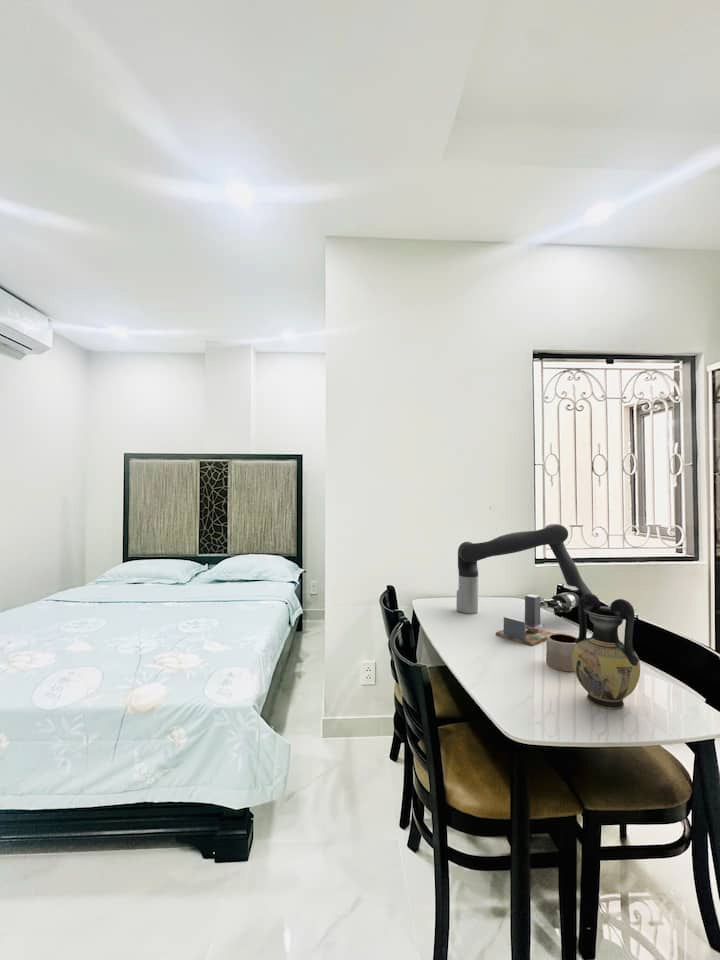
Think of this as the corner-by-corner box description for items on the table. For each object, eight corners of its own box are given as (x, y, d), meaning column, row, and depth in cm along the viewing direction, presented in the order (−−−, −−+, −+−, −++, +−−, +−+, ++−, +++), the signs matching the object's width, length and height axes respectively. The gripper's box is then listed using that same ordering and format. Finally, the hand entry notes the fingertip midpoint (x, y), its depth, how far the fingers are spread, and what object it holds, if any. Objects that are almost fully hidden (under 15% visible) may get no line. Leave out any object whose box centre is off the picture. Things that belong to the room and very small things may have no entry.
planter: (587, 673, 151) (587, 644, 151) (553, 672, 151) (553, 643, 151) (572, 660, 162) (572, 633, 162) (541, 660, 162) (541, 632, 162)
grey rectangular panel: (503, 634, 186) (503, 616, 186) (505, 633, 186) (505, 616, 187) (524, 640, 179) (524, 622, 179) (525, 639, 180) (525, 621, 180)
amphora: (561, 700, 131) (562, 594, 132) (583, 683, 143) (584, 586, 144) (630, 724, 119) (631, 607, 119) (648, 703, 131) (649, 596, 131)
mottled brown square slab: (495, 635, 188) (496, 631, 188) (520, 626, 200) (520, 623, 200) (532, 646, 176) (532, 642, 176) (555, 636, 188) (555, 633, 188)
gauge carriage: (515, 631, 188) (515, 597, 189) (529, 626, 195) (529, 593, 196) (531, 636, 183) (532, 600, 183) (545, 631, 190) (546, 596, 190)
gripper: (548, 590, 214) (529, 595, 203) (579, 596, 203) (561, 602, 192) (548, 607, 214) (529, 612, 203) (579, 614, 203) (561, 620, 192)
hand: (545, 607), depth 198 cm, fingers open, 8 cm apart
